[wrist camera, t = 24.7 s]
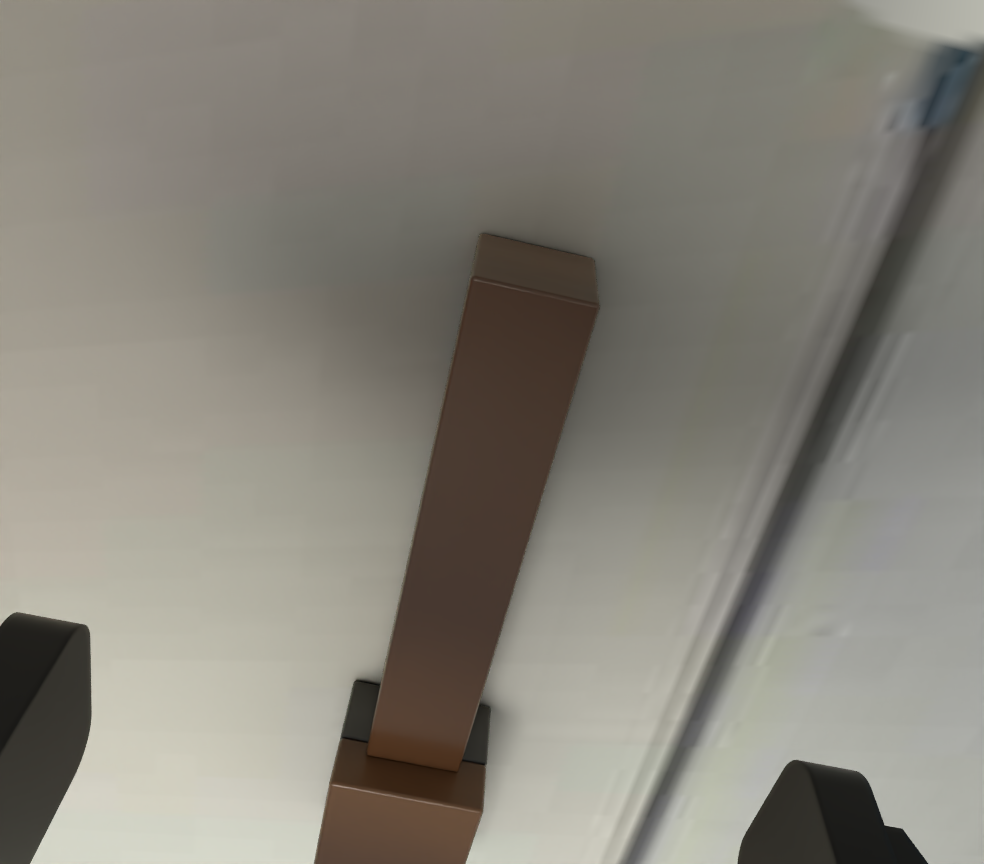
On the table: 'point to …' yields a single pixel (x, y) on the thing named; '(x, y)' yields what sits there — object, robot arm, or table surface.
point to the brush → (462, 564)
